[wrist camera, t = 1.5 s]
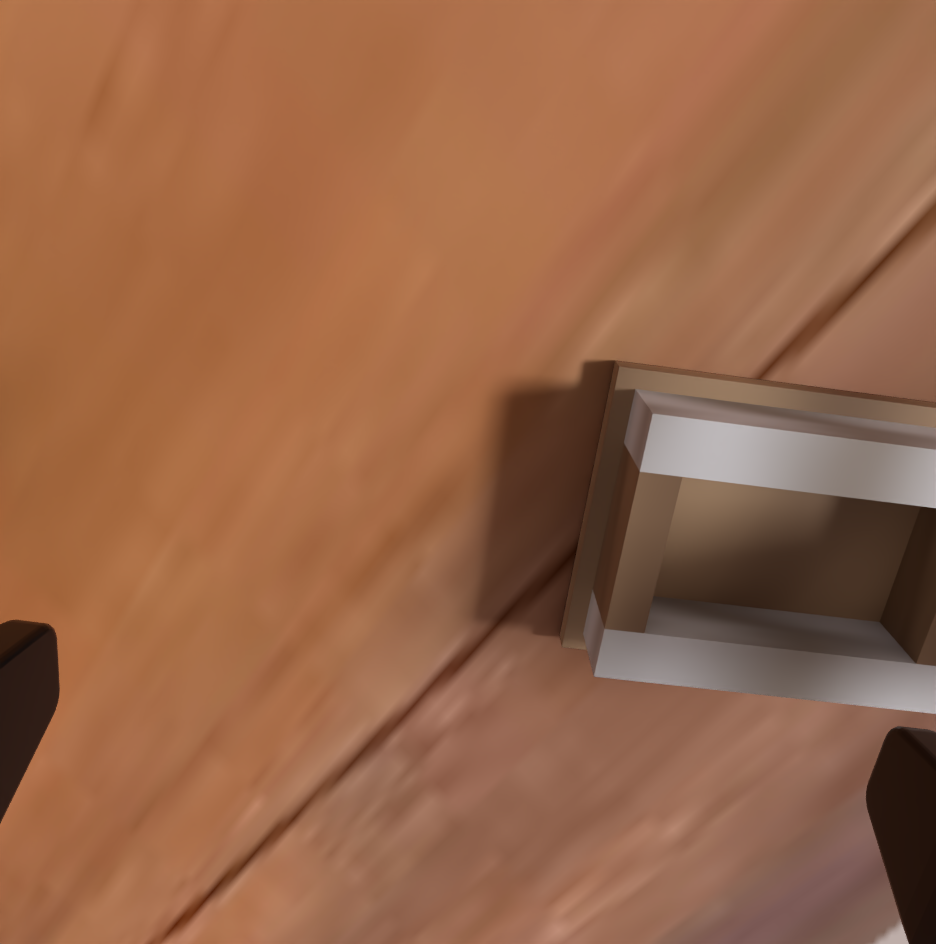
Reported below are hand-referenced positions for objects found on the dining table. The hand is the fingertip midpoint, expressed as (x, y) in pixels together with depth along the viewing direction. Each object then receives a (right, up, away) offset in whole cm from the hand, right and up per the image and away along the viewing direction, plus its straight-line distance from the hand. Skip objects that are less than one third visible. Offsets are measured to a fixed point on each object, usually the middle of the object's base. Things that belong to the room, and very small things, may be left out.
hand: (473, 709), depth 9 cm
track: (+8, +1, +14) cm, 16 cm away
